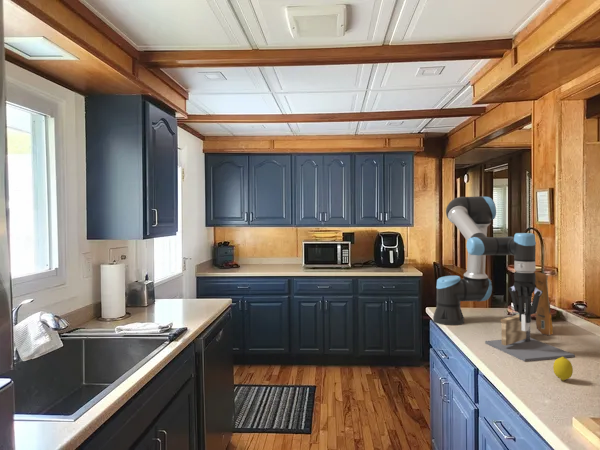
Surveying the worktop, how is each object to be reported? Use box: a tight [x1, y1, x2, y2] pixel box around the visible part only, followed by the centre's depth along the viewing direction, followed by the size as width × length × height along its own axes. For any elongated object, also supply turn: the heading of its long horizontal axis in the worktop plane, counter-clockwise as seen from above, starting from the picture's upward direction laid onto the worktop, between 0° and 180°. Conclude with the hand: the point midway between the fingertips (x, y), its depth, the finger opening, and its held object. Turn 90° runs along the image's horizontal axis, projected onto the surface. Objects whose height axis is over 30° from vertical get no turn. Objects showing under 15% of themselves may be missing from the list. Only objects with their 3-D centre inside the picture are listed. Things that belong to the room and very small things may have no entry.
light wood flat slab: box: [500, 315, 526, 345], centre depth 179 cm, size 16×2×10 cm, turn 125°
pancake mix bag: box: [534, 270, 554, 336], centre depth 204 cm, size 7×19×28 cm, turn 163°
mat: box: [484, 337, 576, 363], centre depth 176 cm, size 24×22×1 cm
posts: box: [509, 313, 531, 345], centre depth 183 cm, size 3×14×13 cm, turn 112°
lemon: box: [552, 357, 574, 382], centre depth 143 cm, size 6×6×8 cm
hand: (525, 330), depth 173 cm, fingers closed
